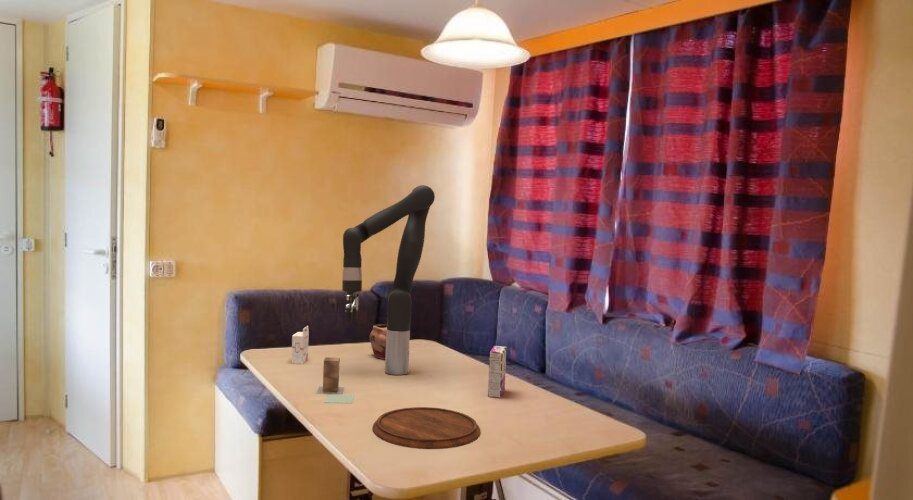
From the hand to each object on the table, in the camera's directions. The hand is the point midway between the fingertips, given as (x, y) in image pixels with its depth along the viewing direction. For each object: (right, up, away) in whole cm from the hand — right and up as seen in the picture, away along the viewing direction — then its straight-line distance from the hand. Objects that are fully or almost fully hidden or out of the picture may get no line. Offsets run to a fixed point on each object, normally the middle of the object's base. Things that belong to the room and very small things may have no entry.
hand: (351, 321), depth 252 cm
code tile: (-3, -22, -24) cm, 33 cm away
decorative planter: (+8, -20, +34) cm, 40 cm away
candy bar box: (+55, -25, -17) cm, 63 cm away
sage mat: (+2, -23, -34) cm, 41 cm away
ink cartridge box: (-24, -19, +17) cm, 35 cm away
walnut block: (-3, -22, -24) cm, 33 cm away
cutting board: (+32, -26, -59) cm, 72 cm away
